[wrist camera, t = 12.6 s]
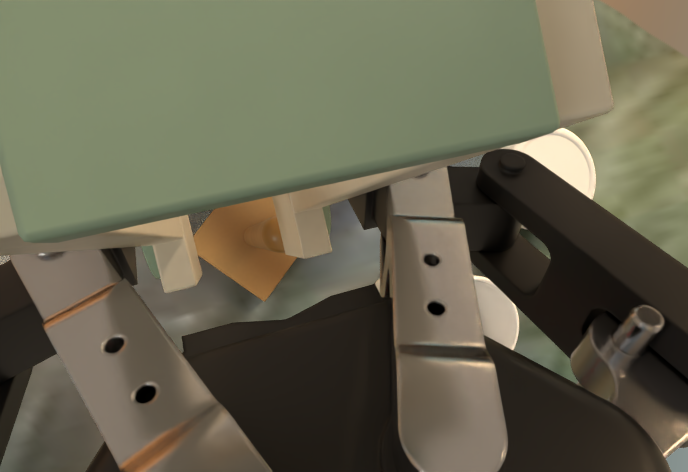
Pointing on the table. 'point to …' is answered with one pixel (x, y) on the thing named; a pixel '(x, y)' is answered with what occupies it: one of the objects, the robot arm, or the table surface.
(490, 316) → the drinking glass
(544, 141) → the white ribbed cylinder
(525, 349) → the table surface
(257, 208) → the stand
